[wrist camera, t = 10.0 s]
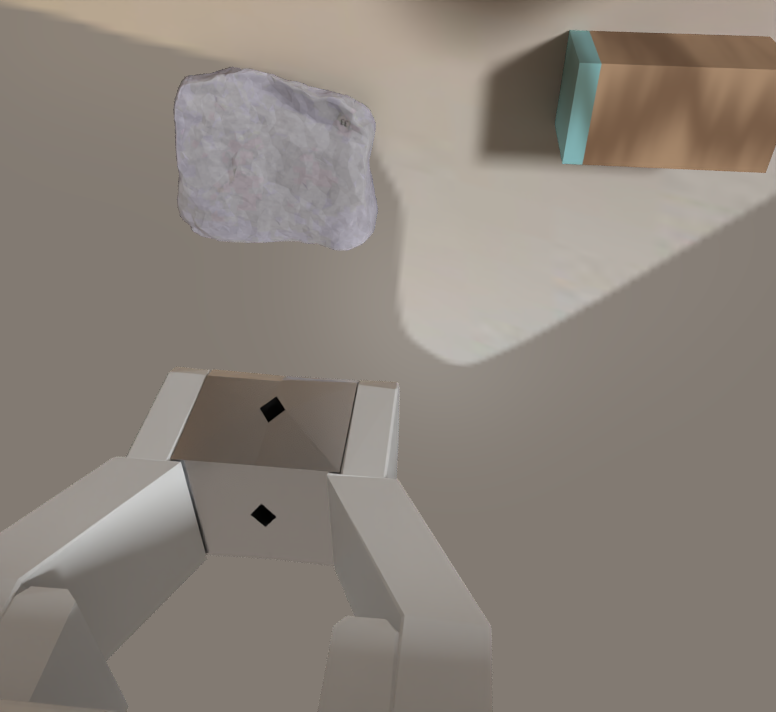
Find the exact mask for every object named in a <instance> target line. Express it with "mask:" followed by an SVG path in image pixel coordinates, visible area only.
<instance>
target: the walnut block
mask: <svg viewBox="0 0 776 712" xmlns="http://www.w3.org/2000/svg"><path fill="white" fill-rule="evenodd" d="M555 128H556V133H557V138H558V143H559V149H560V154H561V159H562V164H582V165H604V166H626V167H648V168H670V169H692V170H715V171H737V172H759V173H766V170H767V167H768V165H769V162H770V159H771V157H772V154H773V151H774V148H775V146H776V42H775V41H774V40H773V39H772V38H771V37H763V36H732V35H700V34H669V33H638V32H606V31H575V30H570V31H569V37H568V44H567V50H566V56H565V63H564V69H563V75H562V82H561V88H560V94H559V101H558V107H557V113H556V120H555Z"/></svg>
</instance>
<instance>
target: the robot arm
mask: <svg viewBox="0 0 776 712" xmlns="http://www.w3.org/2000/svg"><path fill="white" fill-rule="evenodd" d="M399 397H400V389H399V384H398V383H397V382H386V381H368V380H361V381H359V380H343V379H327V378H311V377H310V378H309V377H294V376H279V375H267V374H257V373H246V372H235V371H225V370H205V369H195V368H185V367H175V368H174V369H173V370H172V371H171V372H169V373H168V374H167V376H166V378H165V380H164V382H163V384H162V386H161V388H160V390H159V392H158V394H157V396H156V398H155V400H154V402H153V404H152V406H151V408H150V410H149V412H148V414H147V416H146V418H145V420H144V422H143V424H142V426H141V428H140V430H139V432H138V434H137V436H136V438H135V440H134V442H133V444H132V446H131V447H130V449H129V452H128V454H127V455H126V457H113V458H111V459H110V460H108V461H107V462H106V463H104V464H102V465H101V466H99V467H98V468H96V469H95V470H94V471H92V472H90V473H89V474H87V475H86V476H84V477H83V478H82V479H80V480H78V481H77V482H76V483H74V484H72V485H71V486H69V487H68V488H66V489H65V490H63V491H62V492H60V493H59V494H57V495H56V496H54V497H53V498H51V499H50V500H48V501H47V502H45V503H44V504H42V505H41V506H39V507H38V508H37V509H35V510H34V511H32V512H31V513H29V514H28V515H26V516H25V517H23V518H22V519H20V520H19V521H17V522H16V523H14V524H13V525H11V526H10V527H8V528H7V529H5V530H4V531H2V532H1V533H0V712H127V709H128V704H127V702H126V700H125V698H124V696H123V694H122V692H121V690H120V688H119V686H118V684H117V682H116V680H115V678H114V676H113V674H112V672H111V670H110V668H109V666H108V664H107V662H106V661H107V660H108V659H109V658H110V657H111V656H112V655H113V654H114V653H115V652H116V651H117V650H118V649H119V648H120V646H122V645H123V643H125V642H126V641H127V640H128V639H129V637H130V636H132V635H133V634H134V632H135V631H136V630H137V629H138V628H139V627H140V626H141V625H142V624H143V623H144V622H145V621H146V620H147V619H148V618H149V617H150V616H151V615H152V614H153V613H154V612H155V611H156V610H157V609H158V608H159V607H160V606H161V605H162V604H163V603H164V602H165V601H166V600H167V599H168V598H169V597H170V596H171V595H172V594H173V593H174V592H175V591H176V590H177V589H178V588H179V587H180V586H181V585H182V584H183V583H184V582H185V581H186V580H187V579H188V577H190V576H191V575H192V574H193V573H194V572H195V571H196V569H198V567H199V566H200V565H201V564H202V563H203V562H204V561H205V560H206V559H207V556H206V555H216V556H233V557H248V558H264V559H276V560H285V561H294V562H302V563H310V564H319V565H328V566H334V568H335V572H336V574H337V576H338V579H339V581H340V583H341V586H342V588H343V590H344V592H345V595H346V597H347V600H348V602H349V604H350V607H351V609H352V611H353V614H354V616H346V617H344V618H343V619H342V620H340V621H339V622H338V623H337V624H335V625H334V626H333V631H332V636H331V641H330V647H329V652H328V658H327V663H326V668H325V674H324V679H323V685H322V690H321V696H320V700H319V706H318V711H317V712H492V629H491V628H492V627H491V625H490V624H489V622H488V620H487V619H486V617H485V616H484V614H483V613H482V611H481V609H480V608H479V606H478V605H477V603H476V602H475V600H474V598H473V597H472V595H471V594H470V592H469V590H468V589H467V587H466V586H465V584H464V582H463V581H462V579H461V578H460V576H459V575H458V573H457V571H456V570H455V568H454V567H453V565H452V564H451V562H450V560H449V559H448V557H447V556H446V554H445V552H444V551H443V549H442V548H441V546H440V545H439V543H438V541H437V540H436V538H435V537H434V535H433V534H432V532H431V530H430V529H429V527H428V526H427V524H426V522H425V521H424V519H423V518H422V516H421V515H420V513H419V511H418V510H417V508H416V507H415V505H414V504H413V502H412V500H411V499H410V497H409V496H408V494H407V492H406V491H405V489H404V488H403V486H402V485H401V483H400V481H399V480H398V479H397V461H398V436H399Z"/></svg>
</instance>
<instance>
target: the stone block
mask: <svg viewBox="0 0 776 712" xmlns="http://www.w3.org/2000/svg"><path fill="white" fill-rule="evenodd" d="M174 121H175V134H176V135H175V139H176V140H175V143H176V157H177V165H178V166H177V167H178V171H179V181H178V197H177V203H178V209H179V213H180V217H181V218H182V219H183V220H184V221H185V222H186V223H188V224H189V225H190V226H191V229H192V231H193V232H195V233H197V234H199V235H200V236H203V237H207V238H212V239H216V240H217V241H227V242H245V243H261V242H263V243H265V242H276V241H299V242H303V243H308V244H319V245H322V246H325V247H328V248H330V249H333V250H350V249H352V248H355V247H357V246H359V245H362V244H363V243H364V242H365V241H366V240H367V239H368V238H369V237H370V235H371V234H372V233H373V232H374V228H375V223H376V217H377V213H378V207H377V201H376V196H375V191H374V185H373V178H372V175H371V171H370V168H369V167H370V166H369V158H370V155H371V149H372V145H373V140H374V135H375V129H376V124H375V120H374V117H373V116H372V114H371V111H370V109H369V108H368V107H367V106H365V105H364V104H362V103H360V102H358V101H356V100H355V99H353V98H351V97H349V96H347V95H342V94H339V93H336V92H331V91H328V90H324V89H319V88H315V87H310V86H307V85H306V84H304V83H300V82H296V81H289V80H285V79H282V78H280V77H278V76H276V75H274V74H269V73H264V72H260V71H257V70H253V69H239V68H234V67H229V68H226V69H222V70H219V71H216V72H213V73H210V74H199V75H194V76H193V75H189V76H187V77H185V78H184V79H183V80H182V81H181V84H180V86H179V88H178V90H177V95H176V97H175V102H174Z"/></svg>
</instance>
